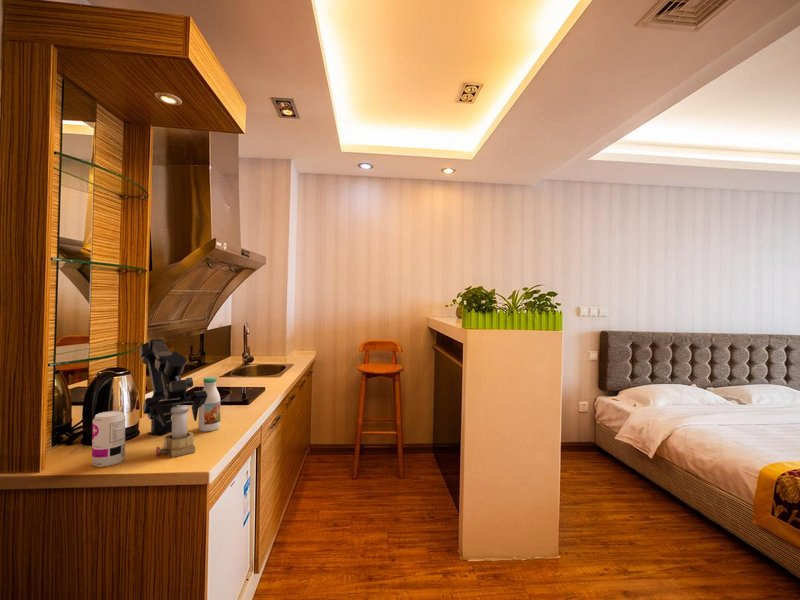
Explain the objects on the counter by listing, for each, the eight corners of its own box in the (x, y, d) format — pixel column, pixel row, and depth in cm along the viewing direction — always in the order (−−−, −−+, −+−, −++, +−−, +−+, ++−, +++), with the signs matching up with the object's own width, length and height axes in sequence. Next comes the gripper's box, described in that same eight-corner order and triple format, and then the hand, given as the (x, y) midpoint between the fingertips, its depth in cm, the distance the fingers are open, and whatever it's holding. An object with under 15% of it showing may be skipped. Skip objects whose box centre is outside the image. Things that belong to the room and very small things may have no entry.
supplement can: (91, 470, 117) (92, 419, 117) (92, 461, 124) (93, 412, 124) (125, 463, 122) (125, 414, 122) (124, 455, 128) (124, 408, 128)
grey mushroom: (166, 447, 130) (167, 409, 131) (177, 441, 136) (177, 404, 136) (181, 447, 130) (182, 409, 130) (191, 442, 135) (191, 405, 135)
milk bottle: (195, 432, 151) (196, 380, 151) (201, 426, 159) (202, 376, 159) (217, 431, 153) (218, 379, 153) (222, 425, 160) (222, 375, 160)
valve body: (151, 449, 135) (151, 433, 135) (185, 442, 142) (185, 427, 142) (160, 461, 125) (160, 444, 125) (197, 452, 132) (197, 436, 132)
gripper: (145, 373, 129) (152, 414, 121) (206, 367, 142) (216, 404, 134) (140, 393, 135) (146, 434, 127) (199, 386, 148) (208, 422, 140)
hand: (180, 423), depth 132 cm, fingers open, 9 cm apart
